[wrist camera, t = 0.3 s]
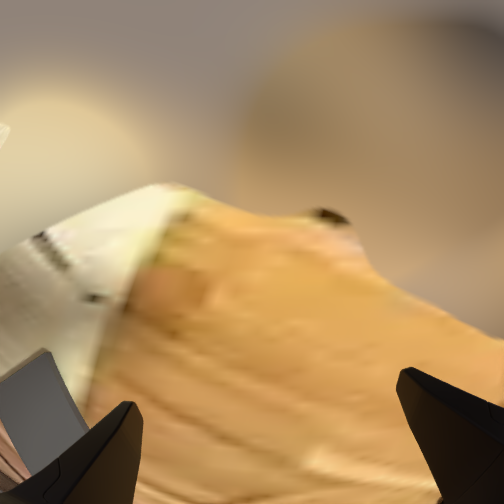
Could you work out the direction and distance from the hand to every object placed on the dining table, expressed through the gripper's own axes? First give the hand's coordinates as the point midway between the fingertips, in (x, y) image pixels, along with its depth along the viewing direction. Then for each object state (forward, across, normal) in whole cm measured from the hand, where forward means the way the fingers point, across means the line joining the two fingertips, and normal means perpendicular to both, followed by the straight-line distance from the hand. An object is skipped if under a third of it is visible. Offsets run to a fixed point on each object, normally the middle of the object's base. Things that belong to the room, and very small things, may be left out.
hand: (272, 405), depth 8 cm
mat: (+8, +24, +14) cm, 29 cm away
